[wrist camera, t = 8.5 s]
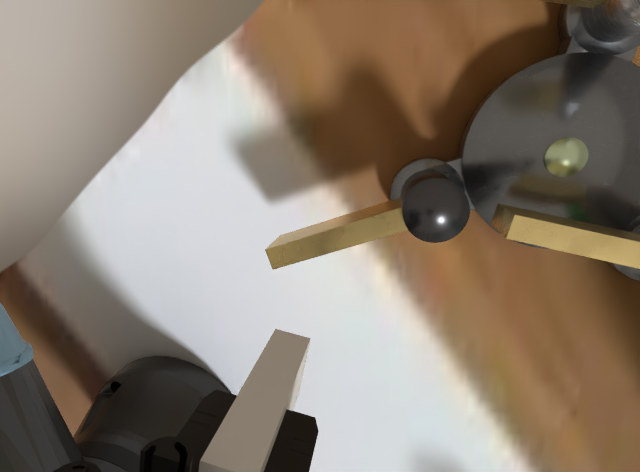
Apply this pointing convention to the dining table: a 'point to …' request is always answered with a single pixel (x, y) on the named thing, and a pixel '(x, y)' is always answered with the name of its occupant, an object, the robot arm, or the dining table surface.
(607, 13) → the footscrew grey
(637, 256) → the lever
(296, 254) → the black and tan lever
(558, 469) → the dining table surface
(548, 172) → the tribrach plate
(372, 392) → the dining table surface
